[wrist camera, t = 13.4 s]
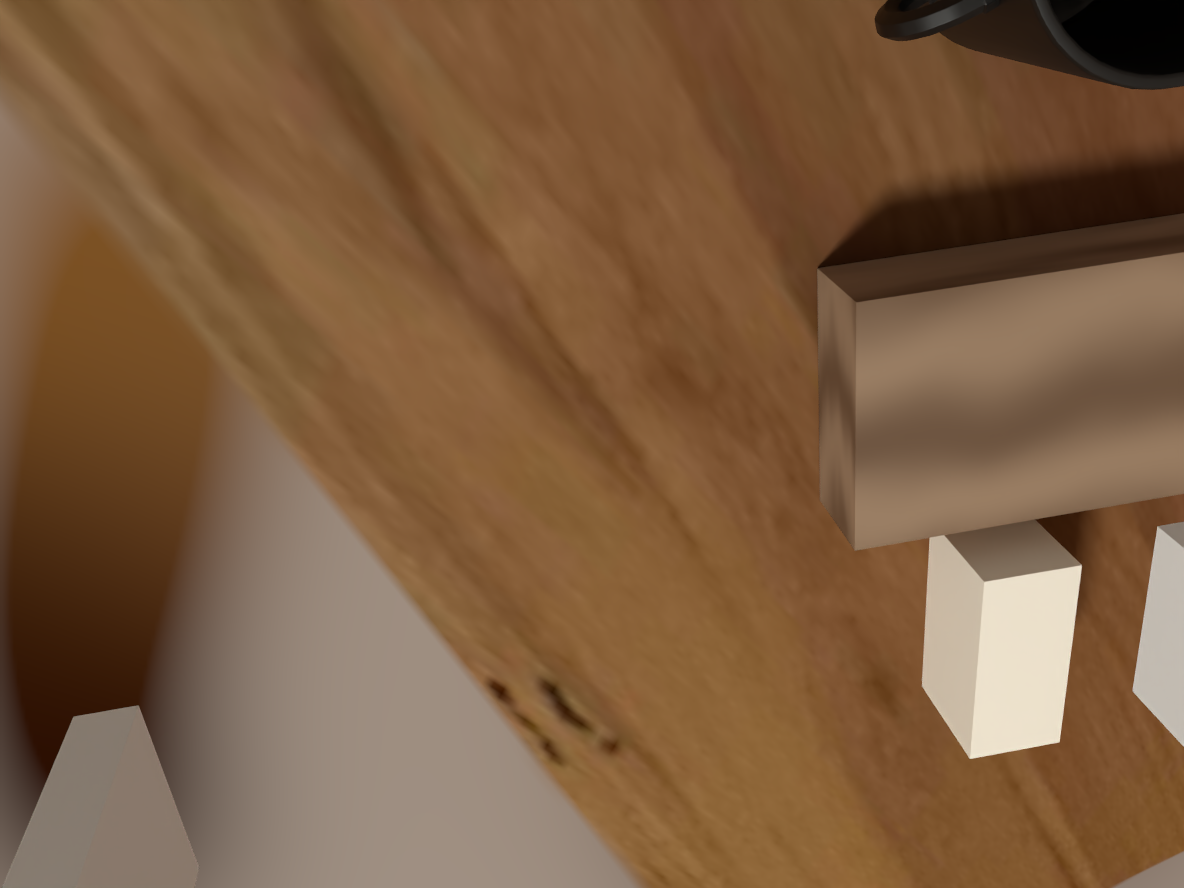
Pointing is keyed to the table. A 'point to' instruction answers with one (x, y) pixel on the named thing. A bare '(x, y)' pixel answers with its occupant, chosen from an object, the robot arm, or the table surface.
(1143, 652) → the robot arm
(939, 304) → the wooden plank
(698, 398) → the table surface
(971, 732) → the block
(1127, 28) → the mug
